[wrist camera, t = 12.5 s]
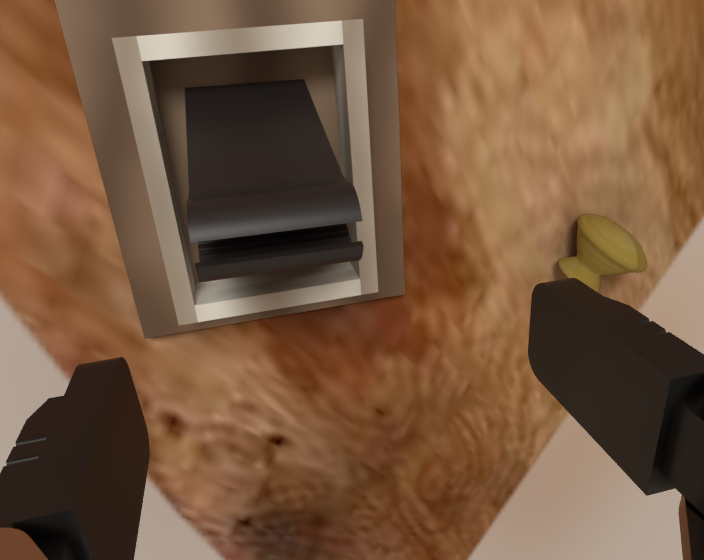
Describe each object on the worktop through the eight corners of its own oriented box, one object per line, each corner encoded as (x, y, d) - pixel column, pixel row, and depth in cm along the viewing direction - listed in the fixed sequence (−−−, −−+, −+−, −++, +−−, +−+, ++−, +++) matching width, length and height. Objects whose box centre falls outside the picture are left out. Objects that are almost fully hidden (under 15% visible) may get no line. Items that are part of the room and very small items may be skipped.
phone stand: (184, 86, 27) (167, 118, 17) (303, 78, 28) (358, 102, 18) (212, 253, 31) (212, 367, 20) (316, 240, 32) (368, 342, 21)
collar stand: (388, -25, 28) (413, -34, 25) (400, 287, 36) (420, 315, 32) (58, -5, 26) (33, -12, 22) (146, 330, 33) (138, 366, 29)
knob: (571, 199, 36) (621, 221, 32) (624, 228, 38) (678, 253, 34) (533, 260, 38) (576, 290, 33) (586, 285, 39) (634, 317, 35)
